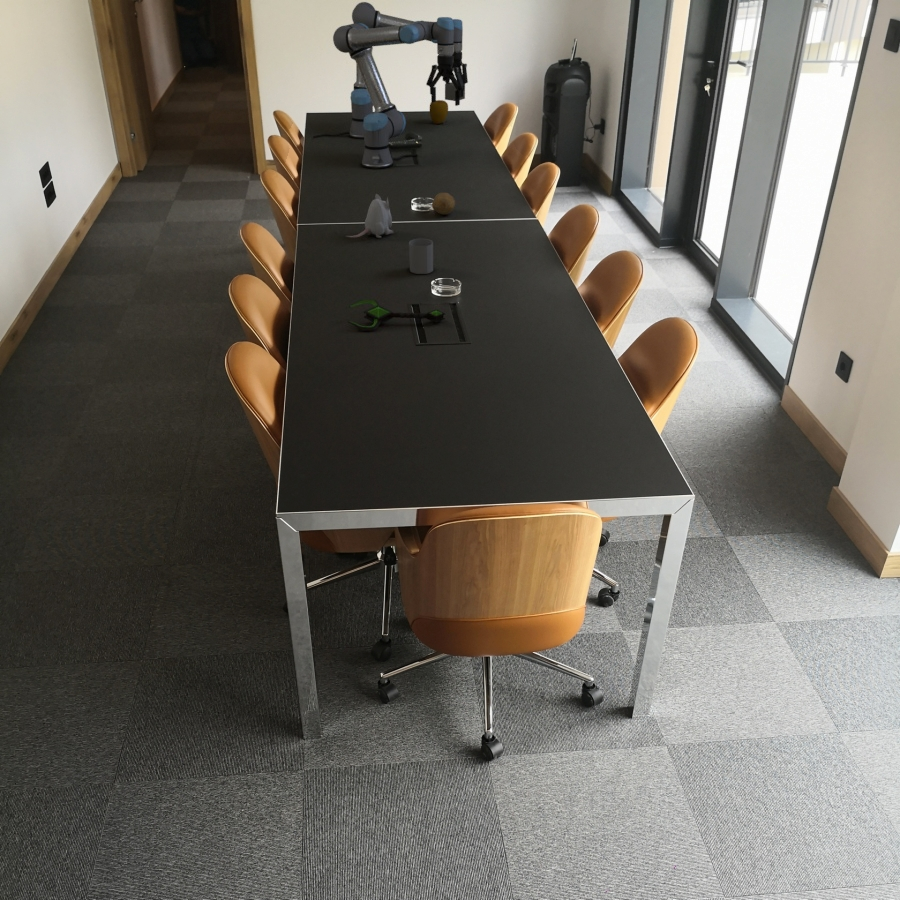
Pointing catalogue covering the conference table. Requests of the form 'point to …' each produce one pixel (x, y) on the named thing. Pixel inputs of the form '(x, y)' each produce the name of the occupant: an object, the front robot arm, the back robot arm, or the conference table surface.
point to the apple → (438, 111)
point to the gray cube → (451, 92)
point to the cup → (421, 256)
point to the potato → (443, 203)
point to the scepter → (391, 315)
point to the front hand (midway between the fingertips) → (445, 103)
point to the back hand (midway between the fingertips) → (454, 95)
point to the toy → (377, 219)
